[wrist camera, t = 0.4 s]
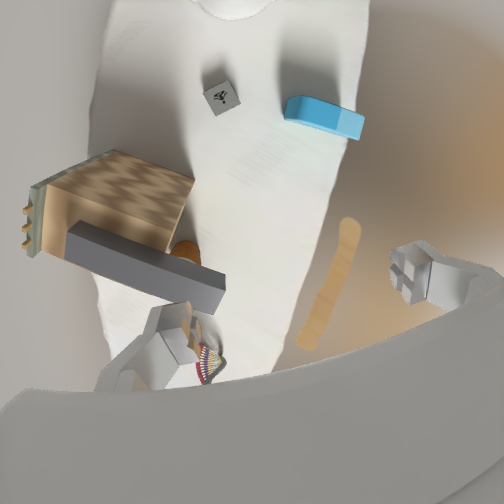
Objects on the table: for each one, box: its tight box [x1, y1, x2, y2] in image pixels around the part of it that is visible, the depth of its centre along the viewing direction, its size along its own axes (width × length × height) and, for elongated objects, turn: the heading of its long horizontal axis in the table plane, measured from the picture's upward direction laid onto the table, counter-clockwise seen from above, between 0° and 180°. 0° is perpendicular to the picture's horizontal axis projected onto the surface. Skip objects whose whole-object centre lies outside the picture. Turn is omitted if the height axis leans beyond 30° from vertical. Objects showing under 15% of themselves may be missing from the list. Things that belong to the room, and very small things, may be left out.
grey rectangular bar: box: [64, 220, 226, 315], centre depth 31 cm, size 20×4×4 cm, turn 65°
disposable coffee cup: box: [170, 241, 201, 266], centre depth 56 cm, size 10×10×12 cm
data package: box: [284, 95, 365, 140], centre depth 44 cm, size 12×4×12 cm, turn 78°
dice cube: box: [203, 81, 241, 116], centre depth 44 cm, size 5×5×5 cm
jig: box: [22, 150, 195, 295], centre depth 40 cm, size 19×10×30 cm, turn 65°
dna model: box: [196, 344, 227, 385], centre depth 64 cm, size 9×9×30 cm
